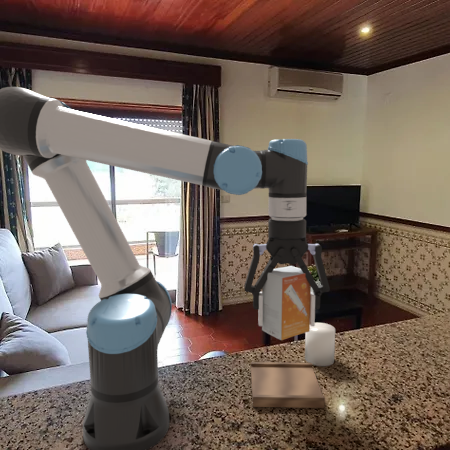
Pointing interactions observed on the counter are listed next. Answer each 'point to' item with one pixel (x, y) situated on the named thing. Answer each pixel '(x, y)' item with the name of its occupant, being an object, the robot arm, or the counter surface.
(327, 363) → the white cylinder
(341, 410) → the counter surface
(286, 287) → the small box
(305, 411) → the counter surface
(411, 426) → the counter surface
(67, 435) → the counter surface
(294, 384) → the walnut board
